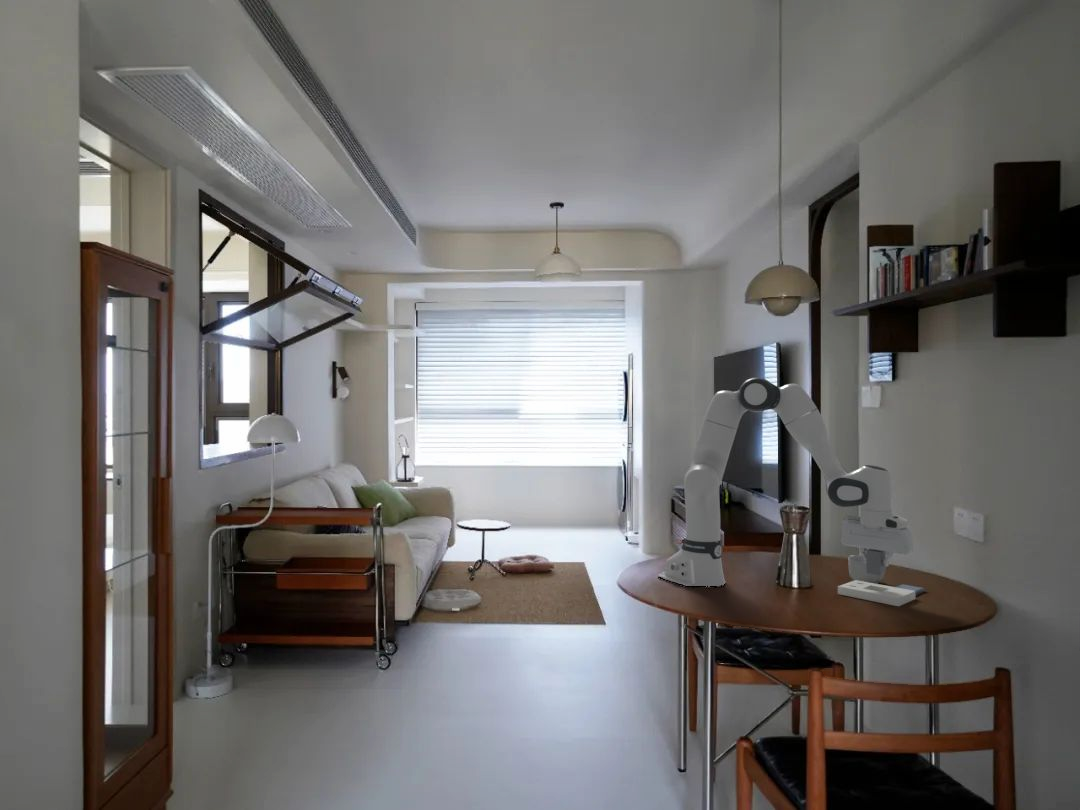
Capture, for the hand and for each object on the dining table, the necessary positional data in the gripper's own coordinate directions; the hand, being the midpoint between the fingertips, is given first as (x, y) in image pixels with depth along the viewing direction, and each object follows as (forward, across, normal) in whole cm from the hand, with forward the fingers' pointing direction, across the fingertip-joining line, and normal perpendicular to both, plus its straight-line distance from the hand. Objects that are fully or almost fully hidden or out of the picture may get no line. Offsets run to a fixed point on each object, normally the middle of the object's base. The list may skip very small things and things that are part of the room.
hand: (876, 564), depth 214 cm
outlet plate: (+10, 0, 0) cm, 10 cm away
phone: (+10, +4, +12) cm, 16 cm away
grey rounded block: (+10, -11, +16) cm, 22 cm away
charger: (+3, 0, 0) cm, 3 cm away
